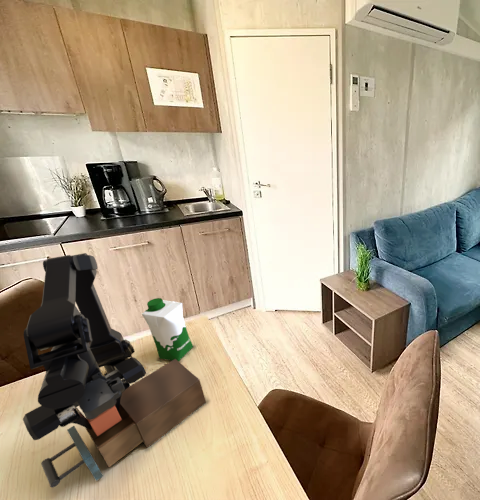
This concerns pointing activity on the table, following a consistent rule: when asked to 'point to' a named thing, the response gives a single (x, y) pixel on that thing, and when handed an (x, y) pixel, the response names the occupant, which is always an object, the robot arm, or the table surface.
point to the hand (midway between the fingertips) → (104, 419)
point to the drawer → (108, 443)
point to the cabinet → (162, 400)
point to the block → (105, 420)
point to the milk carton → (168, 328)
